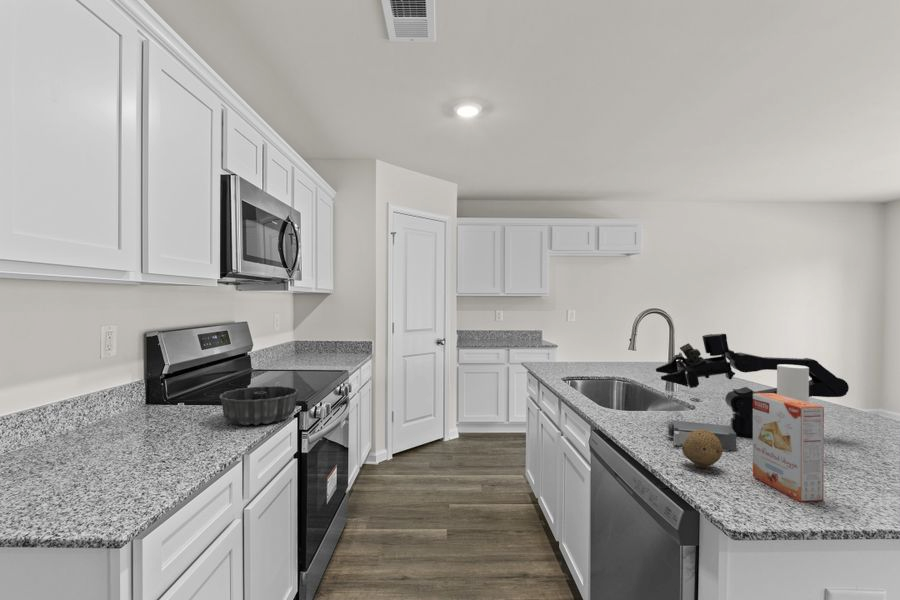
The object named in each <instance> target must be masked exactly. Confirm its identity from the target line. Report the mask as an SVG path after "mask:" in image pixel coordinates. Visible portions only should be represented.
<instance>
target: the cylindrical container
mask: <svg viewBox="0 0 900 600" xmlns="http://www.w3.org/2000/svg"><path fill="white" fill-rule="evenodd" d="M809 380H810V376H809V367H806V366H800V365H787V364H780V365H777V370H776V388H777V394H779V395H783V396H786V397H790V398H793V399H797V400H800V401H804V402H808V403H810V399H809V398H810V397H809Z"/></svg>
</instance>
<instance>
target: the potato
mask: <svg viewBox="0 0 900 600" xmlns="http://www.w3.org/2000/svg"><path fill="white" fill-rule="evenodd" d="M681 451H682V454H683V455H684V457H685V458H686V459H687V460H689V461H690V462H691V463H692V464H693V465H695V466H696V467H699V468H700V469H706V468H709V467H711V466H713V465H714V464H716V463H717V462H718V461H719V460H720V459H721V458H722V456H723V451H722V445H721V443H720V441H719V439H718V438H717V437H716V436H715V435H714V434H713V433H712V432H710V431H707V430H703V429H698V430H695V431H693V432H691V433H690V434H689V435H688V436H687V438H686V440H685V442H684V443H683V446H681Z"/></svg>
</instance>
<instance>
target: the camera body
mask: <svg viewBox="0 0 900 600" xmlns="http://www.w3.org/2000/svg"><path fill="white" fill-rule="evenodd" d="M667 428H668V429H667V430H668V437H672V440H673V442H674V431H687V432H693V431H695V430H698V429H703V430H707V431H710V432H712V433H713V434H714V435H715V436H716V437H717V438H718V439H719V441H720V443H721V445H722V452H727V451H728V452H730V451H729V450H731V451H732V452H737V436H736V433H735V432H734V430H733V429H732V428H731V425H728V424H727V425H726V424H715V423H703V422H695V421H694V422H692V421H684V420H683V421H681V420H671V423H668V427H667ZM677 446H678V447H682V446H683V444H679V445H677Z"/></svg>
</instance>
